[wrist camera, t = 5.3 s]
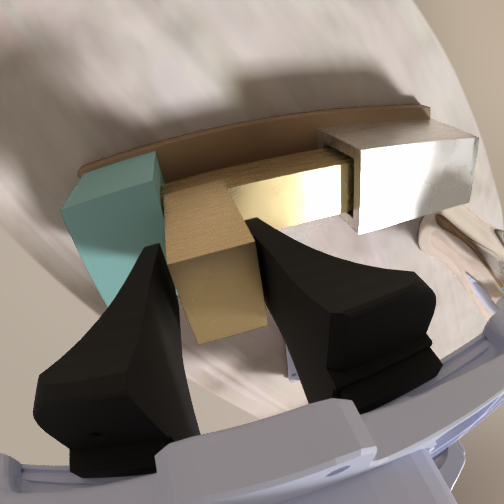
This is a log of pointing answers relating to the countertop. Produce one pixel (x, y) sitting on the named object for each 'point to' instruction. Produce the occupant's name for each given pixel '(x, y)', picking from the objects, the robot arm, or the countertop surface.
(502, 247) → the beer glass
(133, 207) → the teal rectangular block
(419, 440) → the robot arm
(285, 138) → the board
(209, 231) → the wooden l-shaped block
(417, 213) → the white rectangular block
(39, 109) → the countertop surface
